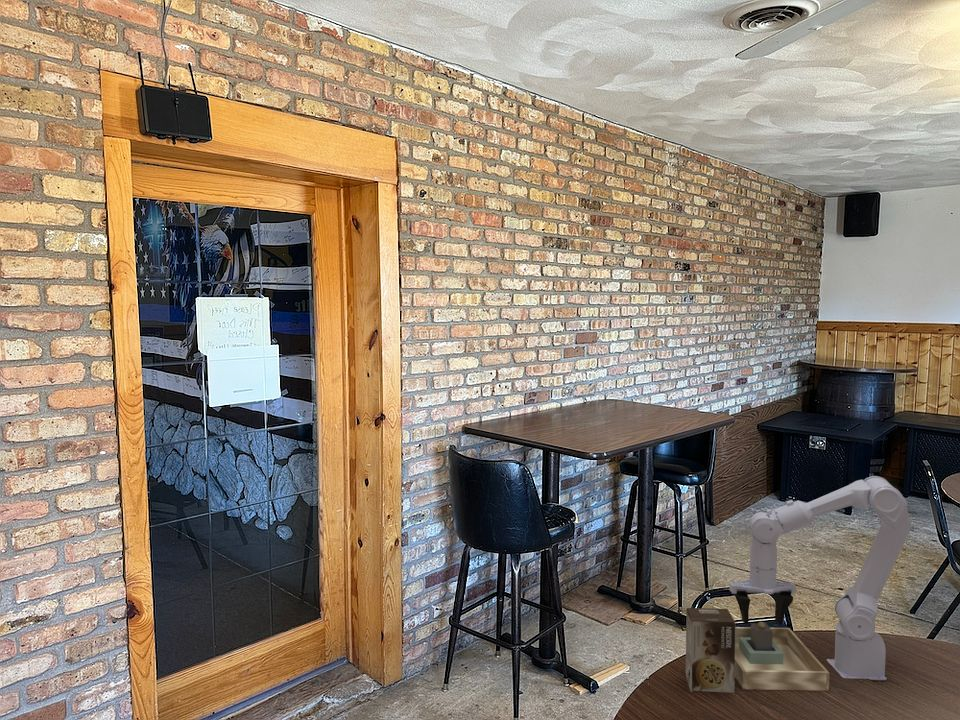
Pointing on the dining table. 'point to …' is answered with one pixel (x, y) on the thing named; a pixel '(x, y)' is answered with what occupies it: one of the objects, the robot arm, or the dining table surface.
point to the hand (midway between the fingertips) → (761, 622)
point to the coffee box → (710, 650)
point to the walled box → (781, 665)
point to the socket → (760, 653)
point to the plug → (761, 637)
